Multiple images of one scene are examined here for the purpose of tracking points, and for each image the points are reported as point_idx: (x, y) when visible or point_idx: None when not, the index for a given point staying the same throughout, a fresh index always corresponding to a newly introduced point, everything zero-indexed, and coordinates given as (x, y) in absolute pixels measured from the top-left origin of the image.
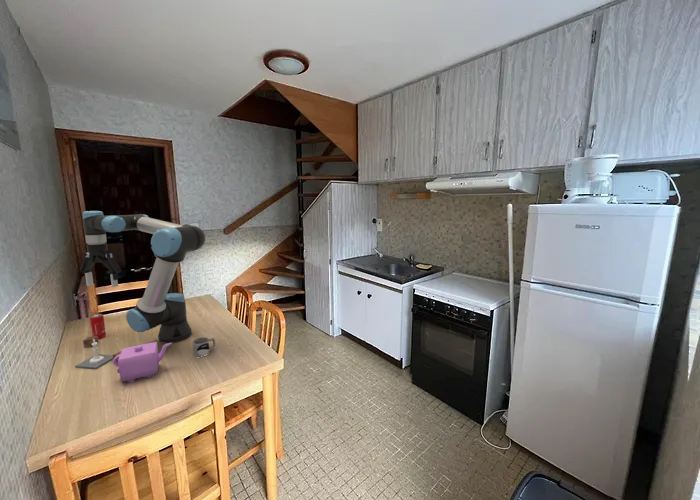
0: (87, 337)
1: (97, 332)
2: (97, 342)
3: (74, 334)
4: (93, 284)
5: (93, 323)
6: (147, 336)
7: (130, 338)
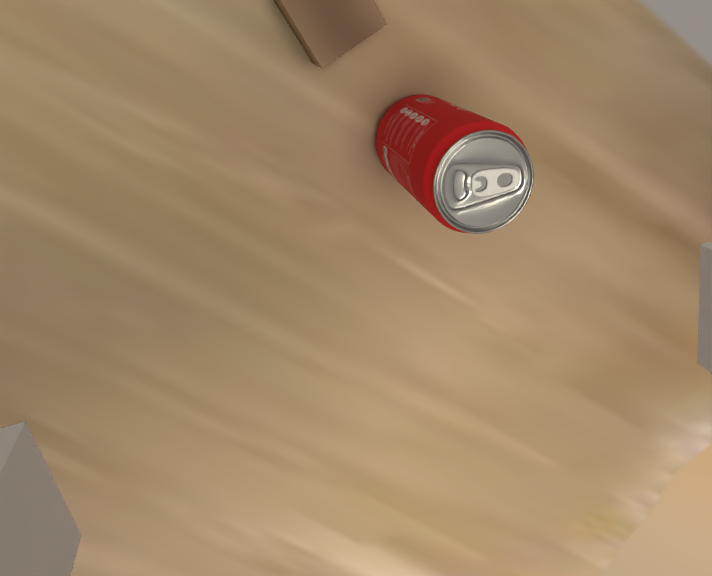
0: (374, 11)
1: (399, 117)
2: (306, 51)
3: (662, 102)
4: (698, 362)
5: (445, 119)
6: (56, 294)
7: (152, 218)
